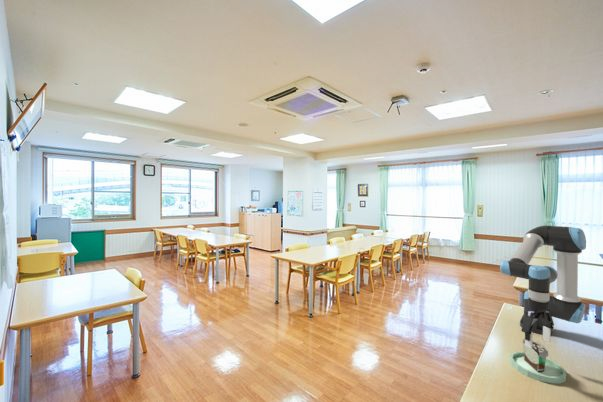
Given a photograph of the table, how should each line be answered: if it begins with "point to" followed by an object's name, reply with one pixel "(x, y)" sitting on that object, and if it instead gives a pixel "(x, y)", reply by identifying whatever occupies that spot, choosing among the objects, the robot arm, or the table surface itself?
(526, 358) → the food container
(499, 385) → the table surface
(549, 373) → the tray
